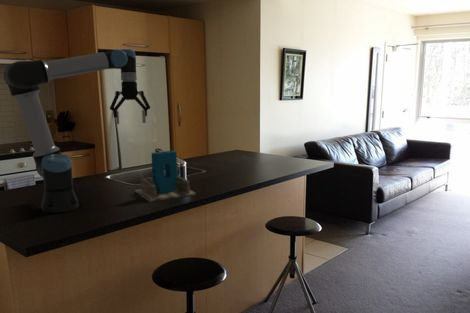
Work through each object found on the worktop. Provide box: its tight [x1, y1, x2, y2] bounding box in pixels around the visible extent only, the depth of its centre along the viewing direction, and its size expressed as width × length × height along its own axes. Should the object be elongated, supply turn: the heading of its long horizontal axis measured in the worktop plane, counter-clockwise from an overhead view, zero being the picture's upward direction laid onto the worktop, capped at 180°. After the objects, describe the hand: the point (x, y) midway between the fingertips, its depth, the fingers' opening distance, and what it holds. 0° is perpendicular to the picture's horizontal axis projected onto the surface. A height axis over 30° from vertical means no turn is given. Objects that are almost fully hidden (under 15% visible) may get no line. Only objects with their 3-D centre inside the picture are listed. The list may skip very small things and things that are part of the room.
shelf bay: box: [135, 175, 197, 203], centre depth 201 cm, size 24×22×7 cm
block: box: [151, 150, 178, 194], centre depth 200 cm, size 12×5×20 cm, turn 131°
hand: (131, 123), depth 204 cm, fingers open, 13 cm apart
